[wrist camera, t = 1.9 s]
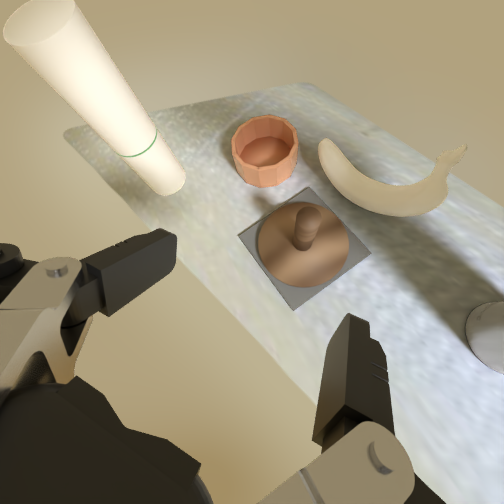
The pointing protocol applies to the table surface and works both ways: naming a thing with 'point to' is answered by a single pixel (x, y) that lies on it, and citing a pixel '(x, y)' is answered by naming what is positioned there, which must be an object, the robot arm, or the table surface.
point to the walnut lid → (303, 244)
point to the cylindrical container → (92, 86)
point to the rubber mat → (301, 295)
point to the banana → (384, 195)
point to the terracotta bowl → (265, 150)
